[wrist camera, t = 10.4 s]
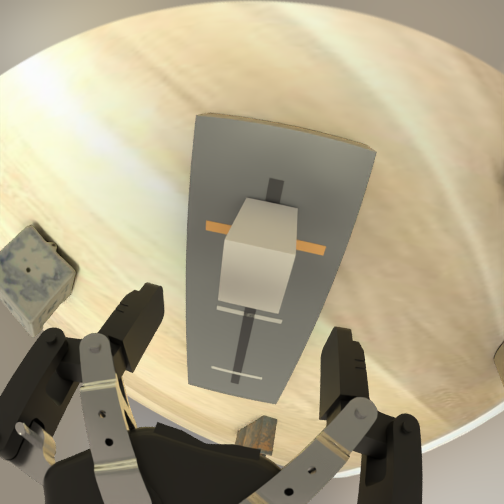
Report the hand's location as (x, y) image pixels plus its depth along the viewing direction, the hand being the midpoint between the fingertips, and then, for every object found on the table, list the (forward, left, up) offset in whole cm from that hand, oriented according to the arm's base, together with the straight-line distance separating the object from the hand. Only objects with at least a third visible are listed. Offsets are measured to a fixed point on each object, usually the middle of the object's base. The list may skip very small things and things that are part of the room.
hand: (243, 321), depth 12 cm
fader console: (-7, +5, -12) cm, 15 cm away
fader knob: (0, 0, -9) cm, 9 cm away
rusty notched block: (-37, +19, -13) cm, 44 cm away
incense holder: (+6, +30, -12) cm, 33 cm away
